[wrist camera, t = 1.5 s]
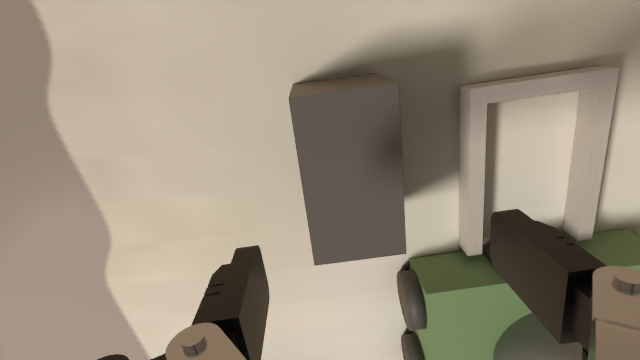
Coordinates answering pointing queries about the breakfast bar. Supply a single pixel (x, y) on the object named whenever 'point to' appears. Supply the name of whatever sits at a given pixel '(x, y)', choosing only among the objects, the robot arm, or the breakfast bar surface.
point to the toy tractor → (474, 261)
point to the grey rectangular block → (350, 166)
